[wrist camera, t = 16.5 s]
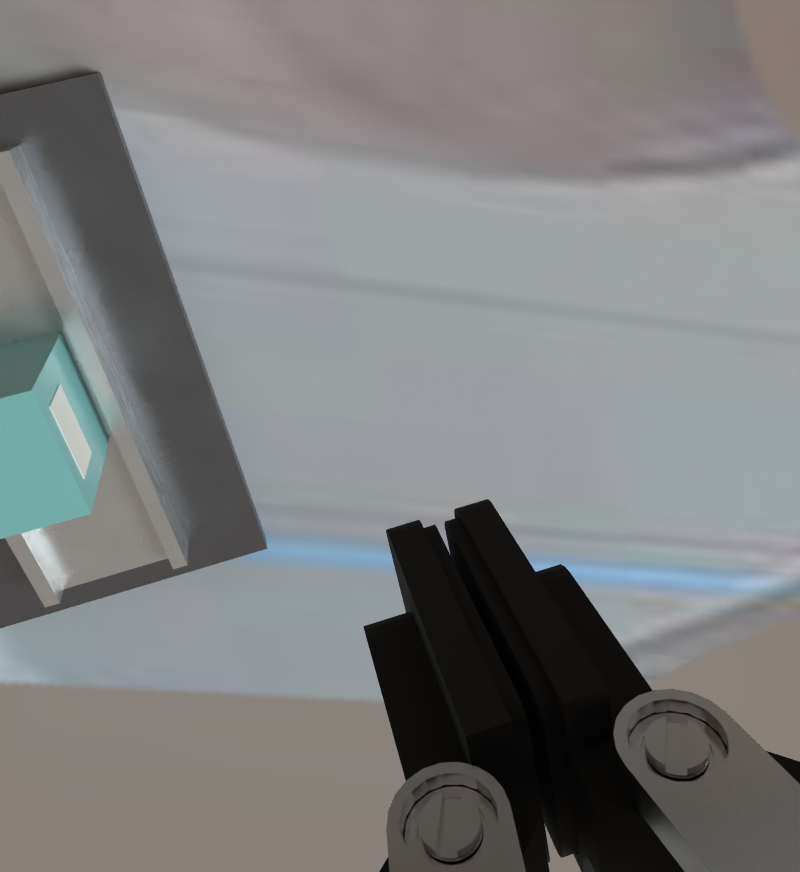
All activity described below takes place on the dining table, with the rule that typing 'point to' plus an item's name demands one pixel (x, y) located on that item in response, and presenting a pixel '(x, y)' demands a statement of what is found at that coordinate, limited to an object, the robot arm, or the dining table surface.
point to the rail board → (109, 361)
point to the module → (46, 437)
